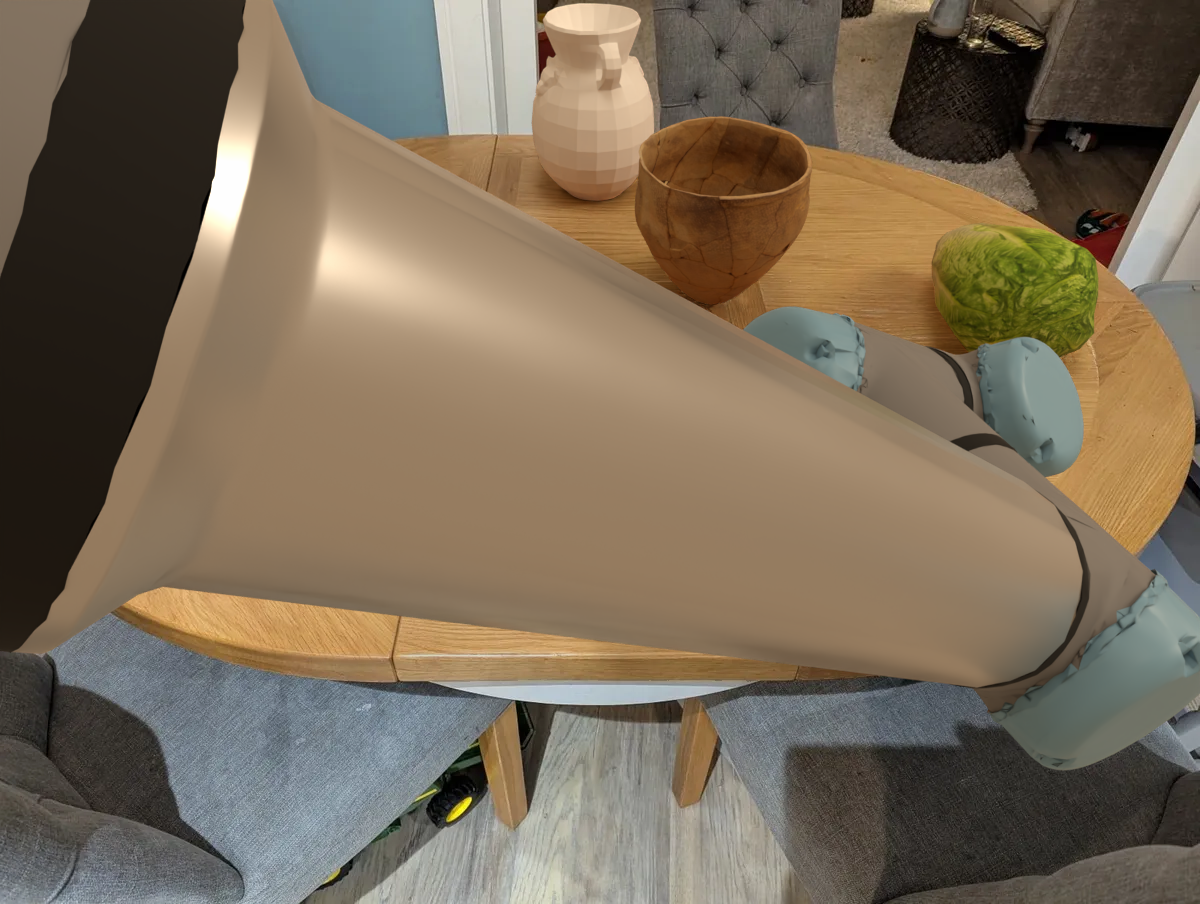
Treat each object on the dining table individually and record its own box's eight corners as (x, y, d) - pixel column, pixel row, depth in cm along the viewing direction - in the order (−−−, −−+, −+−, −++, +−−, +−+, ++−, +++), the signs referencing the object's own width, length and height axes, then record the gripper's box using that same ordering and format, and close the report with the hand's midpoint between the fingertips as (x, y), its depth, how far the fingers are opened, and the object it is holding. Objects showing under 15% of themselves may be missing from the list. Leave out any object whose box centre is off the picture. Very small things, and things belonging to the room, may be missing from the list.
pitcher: (522, 170, 133) (512, 2, 115) (628, 157, 137) (634, -8, 119) (552, 223, 120) (545, 42, 102) (668, 206, 124) (680, 29, 107)
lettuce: (1007, 279, 111) (1023, 175, 102) (1116, 369, 91) (1148, 251, 82) (884, 303, 111) (890, 202, 102) (968, 398, 91) (984, 283, 83)
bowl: (804, 346, 98) (839, 189, 84) (637, 350, 97) (645, 192, 83) (769, 258, 113) (794, 113, 99) (625, 261, 112) (629, 115, 98)
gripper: (759, 639, 46) (561, 651, 63) (915, 411, 61) (721, 470, 78) (688, 537, 45) (504, 576, 62) (865, 329, 60) (678, 406, 76)
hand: (624, 517), depth 70 cm, fingers open, 13 cm apart
